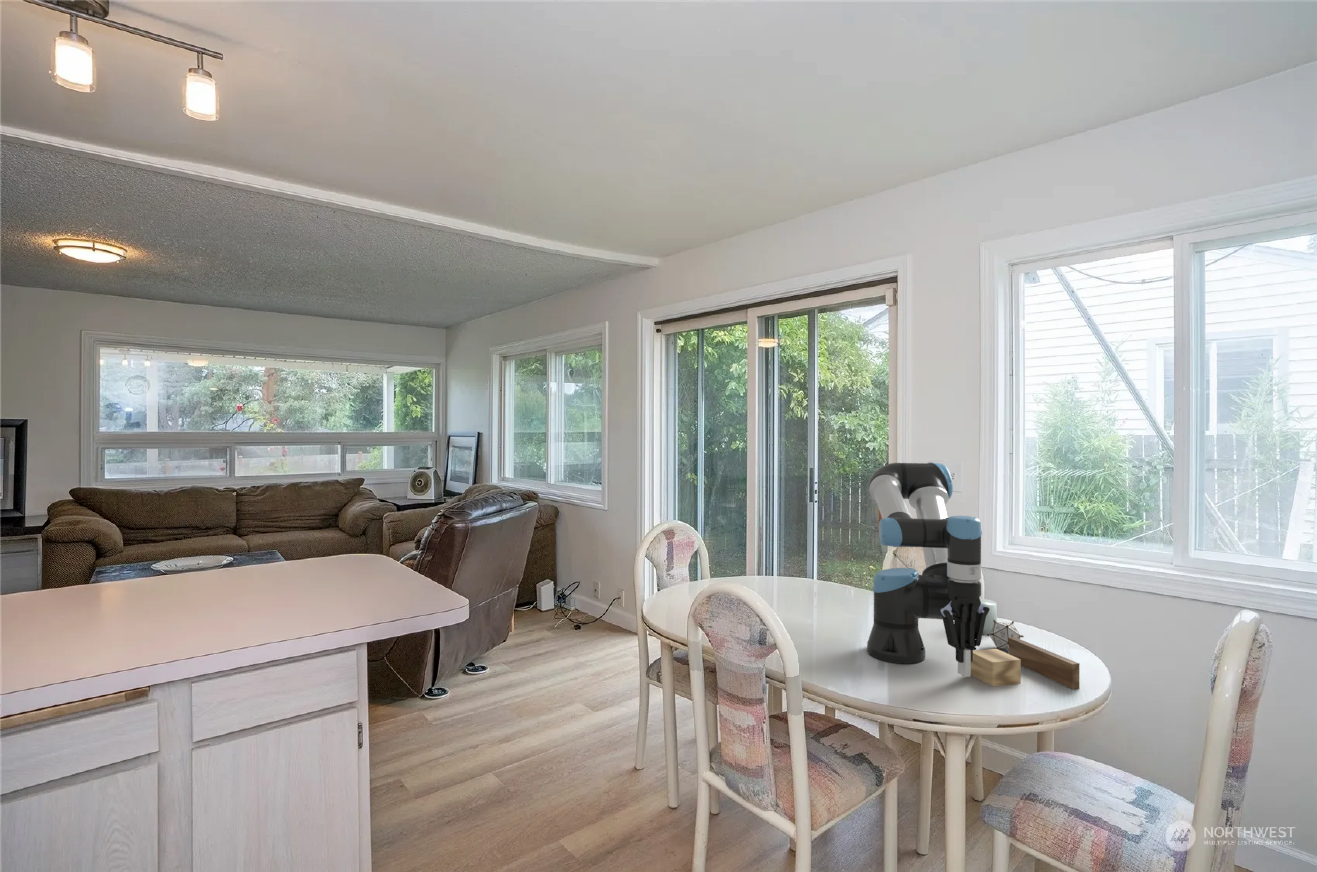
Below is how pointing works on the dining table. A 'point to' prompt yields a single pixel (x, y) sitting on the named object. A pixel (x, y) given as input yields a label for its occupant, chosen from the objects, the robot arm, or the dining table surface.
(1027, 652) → the board
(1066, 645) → the dining table surface
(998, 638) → the game die
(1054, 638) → the dining table surface
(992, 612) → the sage green cylinder
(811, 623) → the dining table surface
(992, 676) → the block
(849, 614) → the dining table surface
